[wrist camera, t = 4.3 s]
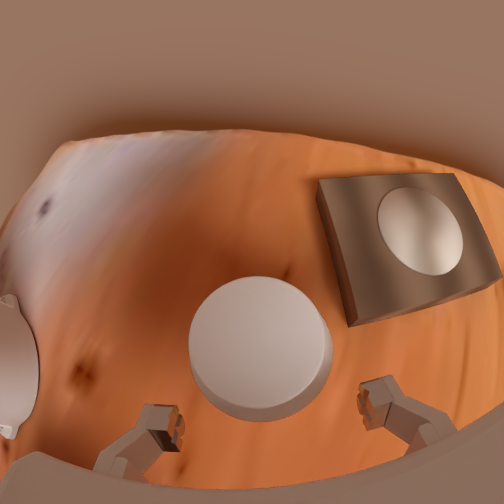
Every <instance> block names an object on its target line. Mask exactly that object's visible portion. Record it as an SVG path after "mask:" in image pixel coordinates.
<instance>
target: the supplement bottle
mask: <svg viewBox="0 0 504 504" xmlns="http://www.w3.org/2000/svg"><path fill="white" fill-rule="evenodd" d="M188 349H189V358H190V366H191V371H192V374H193V377H194V380H195V382H196V384H197V385H198V387H199V389H200V390H201V392H202V393H203V395H204V396H205V397H206V398H207V399H208V400H209V401H210V402H211V403H212V404H213V405H214V406H215V407H217V408H218V409H219V410H221V411H222V412H224V413H226V414H228V415H230V416H232V417H235V418H237V419H241V420H245V421H250V422H270V421H276V420H280V419H283V418H286V417H289V416H291V415H293V414H295V413H297V412H299V411H300V410H302V409H303V408H305V407H306V406H307V405H308V404H310V403H311V402H312V401H313V400H314V399H315V398H316V397H317V395H318V394H319V393H320V391H321V390H322V388H323V386H324V385H325V383H326V381H327V379H328V376H329V373H330V370H331V366H332V359H333V347H332V340H331V335H330V332H329V329H328V327H327V324H326V323H325V321H324V319H323V317H322V316H321V314H320V313H319V312H318V310H317V308H316V307H315V305H314V304H313V303H312V302H311V300H310V299H309V298H308V297H307V296H306V295H305V294H304V293H303V292H302V291H300V290H299V289H297V288H296V287H295V286H293V285H291V284H289V283H287V282H285V281H282V280H279V279H276V278H271V277H264V276H251V277H244V278H240V279H236V280H234V281H231V282H228V283H226V284H224V285H222V286H221V287H219V288H218V289H216V290H215V291H214V292H212V293H211V294H210V295H209V296H208V297H207V298H206V299H205V300H204V302H203V303H202V304H201V305H200V307H199V308H198V310H197V312H196V313H195V316H194V318H193V320H192V323H191V326H190V331H189V339H188Z"/></svg>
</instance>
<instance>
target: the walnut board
mask: <svg viewBox="0 0 504 504" xmlns="http://www.w3.org/2000/svg"><path fill="white" fill-rule="evenodd" d="M316 202H317V205H318V209H319V212H320V215H321V219H322V222H323V226H324V229H325V233H326V236H327V240H328V244H329V247H330V251H331V255H332V259H333V262H334V266H335V270H336V274H337V278H338V282H339V287H340V291H341V295H342V300H343V304H344V308H345V313H346V318H347V322H348V327H354V326H358V325H363V324H367V323H372V322H376V321H380V320H384V319H388V318H392V317H396V316H400V315H404V314H408V313H411V312H415V311H418V310H422V309H425V308H429V307H432V306H436V305H439V304H442V303H445V302H448V301H451V300H455V299H458V298H461V297H464V296H466V295H469V294H472V293H475V292H478V291H481V290H483V289H486V288H488V287H489V286H491V285H492V284H494V283H495V282H496V281H498V280H499V279H501V278H502V277H503V276H502V273H501V270H500V267H499V264H498V262H497V259H496V257H495V254H494V252H493V249H492V247H491V244H490V242H489V240H488V237H487V235H486V233H485V231H484V229H483V226H482V224H481V222H480V220H479V218H478V216H477V214H476V212H475V210H474V208H473V206H472V204H471V203H470V201H469V199H468V197H467V195H466V193H465V192H464V190H463V188H462V186H461V185H460V183H459V181H458V180H457V178H456V176H455V175H454V173H424V174H392V175H372V176H356V177H343V178H330V179H319V182H318V188H317V194H316Z"/></svg>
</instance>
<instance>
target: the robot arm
mask: <svg viewBox="0 0 504 504" xmlns="http://www.w3.org/2000/svg"><path fill="white" fill-rule="evenodd" d="M38 377H39V371H38V357H37V350H36V345H35V341H34V337H33V334H32V332H31V329H30V327H29V325H28V323H27V322H26V320H25V319H24V318H23V316H22V315H21V313H20V309H19V304H18V300H17V297H16V296H15V295H12V294H6V295H4V296H2V297H0V433H1V434H2V435H3V436H4V437H5V438H7V439H15V437H16V435H17V431H18V428H19V426H20V425H21V423H23V422H24V421H25V420H26V419H27V418H28V417H29V415H30V414H31V412H32V410H33V407H34V404H35V401H36V396H37V390H38ZM358 389H359V392H360V393H359V394H358V395H357V407H358V410H359V413H360V414H361V415H363V416H364V417H363V423H364V425H365V428H366V430H367V431H369V430H373V429H376V428H380V427H383V426H384V427H385V428H386V429H387V430H389V431H390V432H392V433H393V434H395V435H396V436H398V437H399V438H401V439H402V440H403V441H405V442H406V443H408V444H409V445H410V446H409V448H408V449H407V451H406V453H405V455H404V456H403V457H400V458H398V459H395V460H392V461H389V462H386V463H384V464H381V465H378V466H374V467H371V468H368V469H365V470H361V471H358V472H354V473H350V474H346V475H342V476H338V477H334V478H329V479H324V480H319V481H314V482H308V483H302V484H295V485H288V486H280V487H270V488H257V489H194V488H182V487H172V486H163V485H156V484H150V483H149V482H148V481H147V480H146V479H145V478H144V477H143V476H142V474H143V473H144V472H145V471H146V470H147V469H148V468H149V467H150V466H151V465H152V464H153V463H154V462H155V461H156V460H157V459H158V458H159V457H160V455H161V454H162V453H163V451H168V452H181V447H182V442H183V441H182V439H181V438H180V437H181V436H182V435H183V434H184V432H185V422H184V419H183V417H182V416H181V415H180V414H178V413H179V409H178V407H177V405H161V404H145V405H144V406H143V409H142V411H141V414H140V417H139V419H138V422H137V425H136V427H135V428H132V429H131V430H129V431H128V432H127V433H125V434H124V435H123V436H121V437H120V438H119V439H117V440H116V441H114V442H113V443H112V444H110V445H109V446H108V447H106V448H105V449H103V450H102V451H101V452H100V453H99V455H98V458H97V460H96V463H95V465H94V467H93V470H89V469H85V468H82V467H79V466H76V465H73V464H70V463H67V462H65V461H62V460H59V459H57V458H54V457H52V456H49V455H47V454H45V453H42V452H39V451H35V452H32V453H30V454H28V455H26V456H24V457H22V458H20V459H18V460H16V461H15V462H14V463H13V464H12V465H11V466H10V468H9V469H8V470H7V472H6V474H5V475H4V477H3V479H2V480H1V482H0V504H504V402H503V403H501V404H500V405H498V406H497V407H495V408H494V409H493V410H491V411H490V412H488V413H487V414H485V415H483V416H482V417H480V418H479V419H477V420H476V421H474V422H472V423H471V424H469V425H467V426H465V427H464V428H462V429H460V430H458V431H457V429H456V428H455V426H454V425H453V423H452V421H451V420H450V418H449V417H448V415H447V414H446V413H444V412H442V411H439V410H437V409H435V408H433V407H430V406H428V405H426V404H424V403H421V402H419V401H417V400H415V399H413V398H411V397H405V396H404V394H403V392H402V391H401V389H400V388H399V386H398V384H397V383H396V381H395V379H394V378H393V376H392V375H387V376H384V377H381V378H376V379H373V380H370V381H366V382H362V383H360V384H359V388H358Z"/></svg>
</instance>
